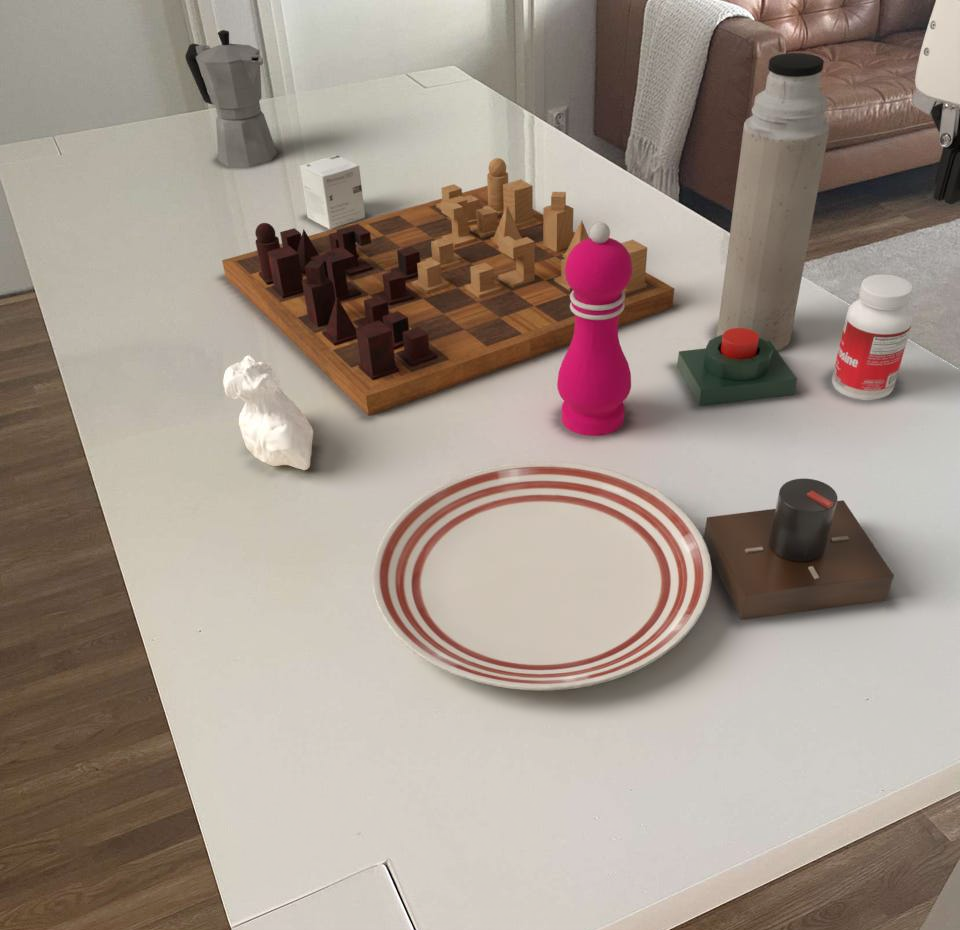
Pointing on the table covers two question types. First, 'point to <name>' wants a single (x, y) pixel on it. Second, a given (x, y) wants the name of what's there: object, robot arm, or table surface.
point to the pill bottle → (874, 338)
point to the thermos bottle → (775, 200)
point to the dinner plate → (542, 575)
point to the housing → (735, 374)
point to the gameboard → (430, 290)
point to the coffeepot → (233, 100)
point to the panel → (794, 566)
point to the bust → (268, 416)
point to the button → (739, 343)
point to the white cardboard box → (333, 191)
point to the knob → (802, 519)
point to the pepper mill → (596, 336)
